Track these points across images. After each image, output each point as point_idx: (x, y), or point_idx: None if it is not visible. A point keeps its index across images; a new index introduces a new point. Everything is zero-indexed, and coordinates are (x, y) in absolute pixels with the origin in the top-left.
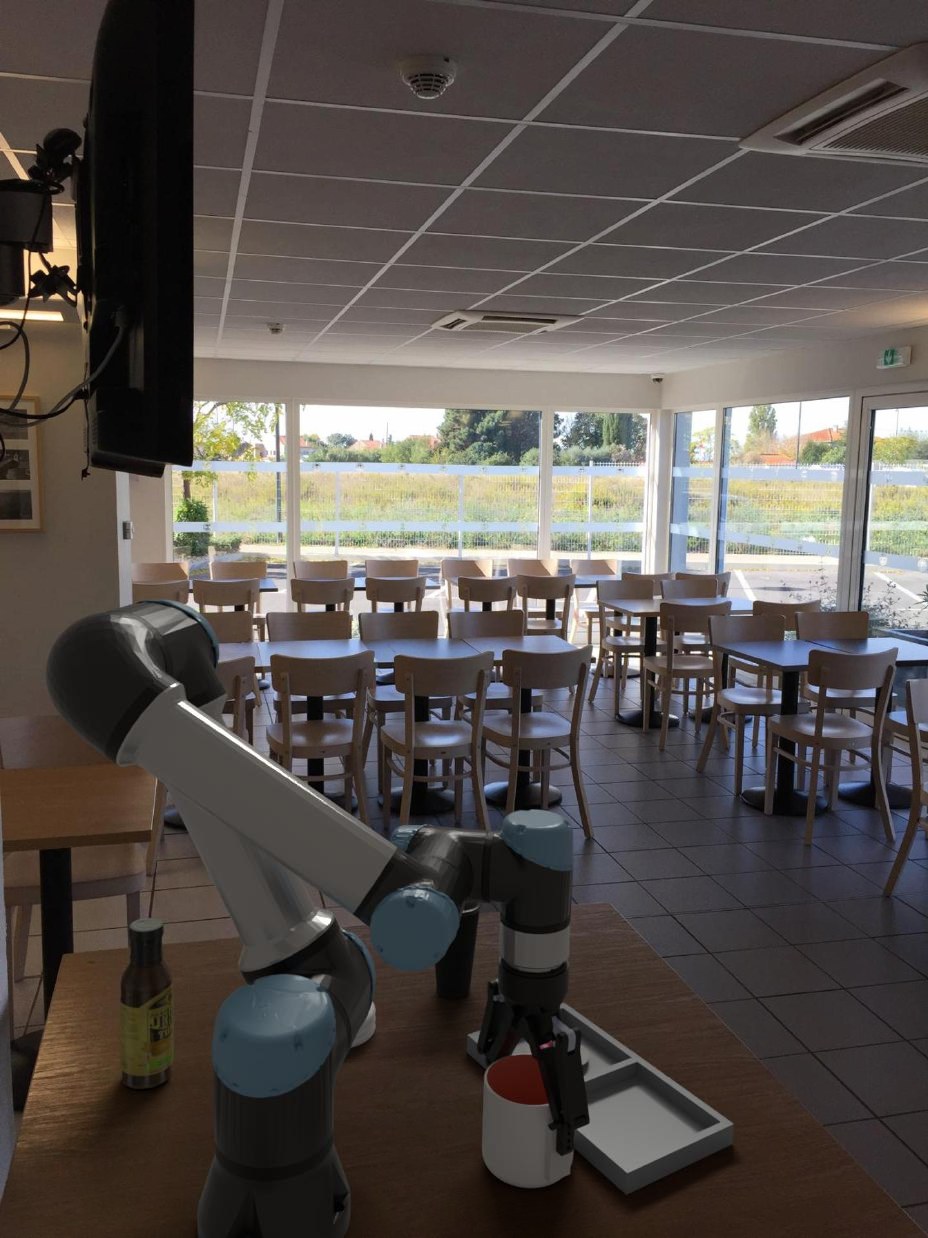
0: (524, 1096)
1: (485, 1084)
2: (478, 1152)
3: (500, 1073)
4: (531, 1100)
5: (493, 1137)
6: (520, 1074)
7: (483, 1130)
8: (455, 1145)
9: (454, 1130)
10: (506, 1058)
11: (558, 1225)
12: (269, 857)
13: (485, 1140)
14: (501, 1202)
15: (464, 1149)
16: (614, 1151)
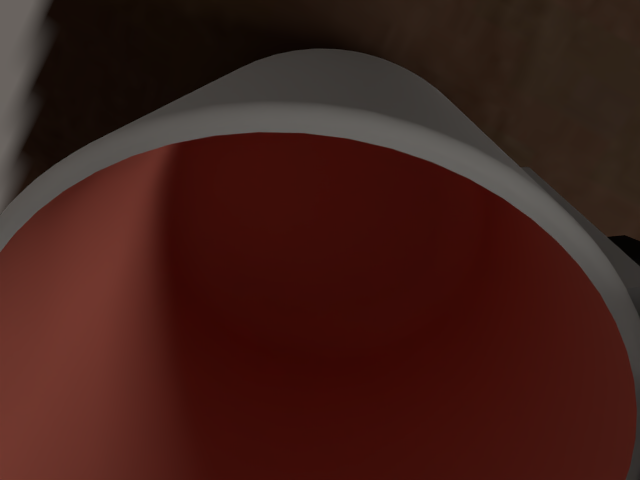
0: (490, 357)
1: (380, 117)
2: (458, 78)
3: (582, 332)
4: (469, 369)
5: (253, 68)
6: (539, 423)
7: (379, 67)
8: (545, 6)
9: (631, 46)
10: (629, 445)
11: (25, 158)
12: None
13: (340, 57)
14: (173, 30)
15: (503, 32)
16: None
